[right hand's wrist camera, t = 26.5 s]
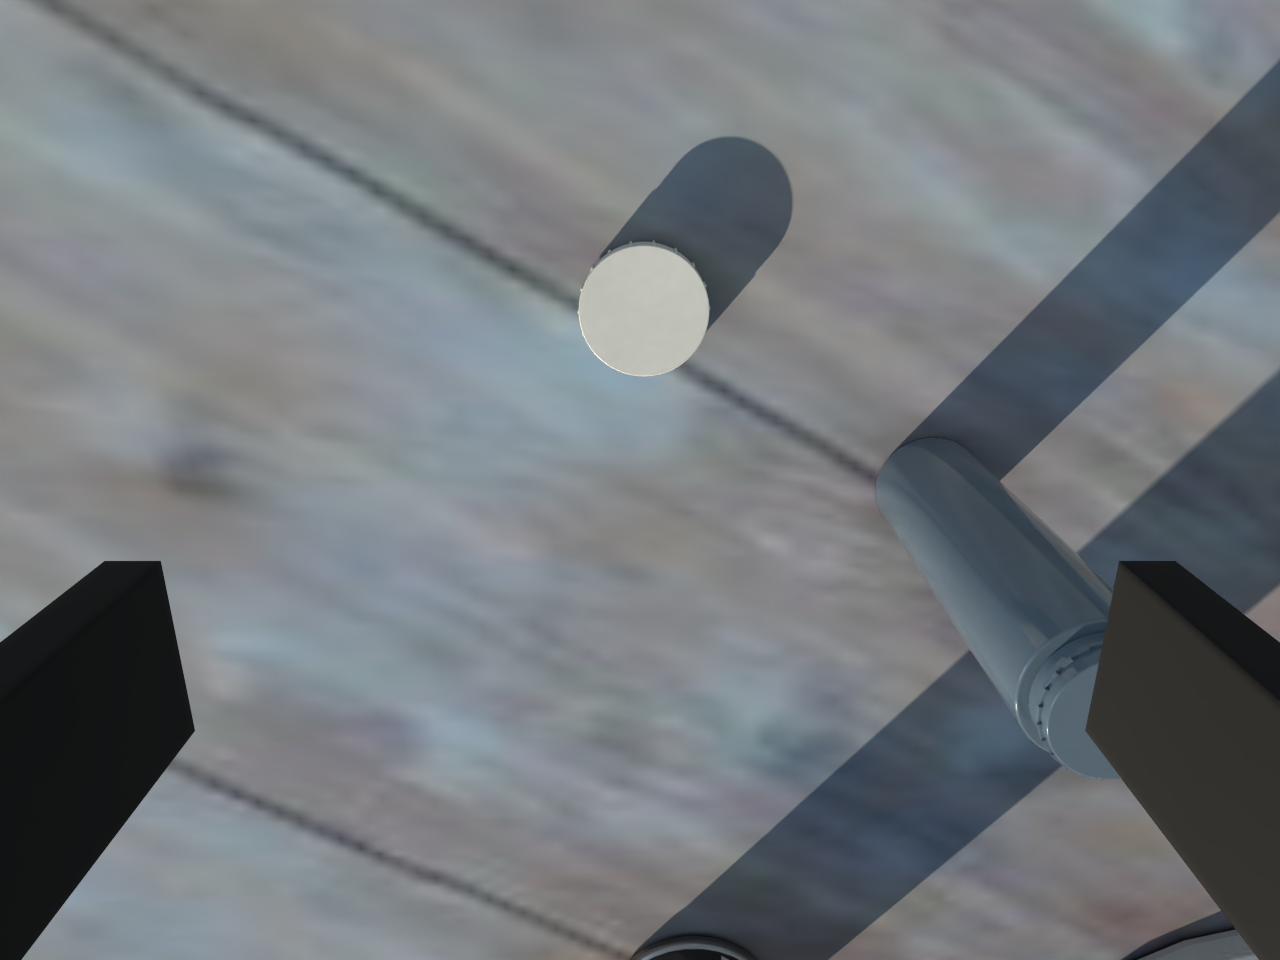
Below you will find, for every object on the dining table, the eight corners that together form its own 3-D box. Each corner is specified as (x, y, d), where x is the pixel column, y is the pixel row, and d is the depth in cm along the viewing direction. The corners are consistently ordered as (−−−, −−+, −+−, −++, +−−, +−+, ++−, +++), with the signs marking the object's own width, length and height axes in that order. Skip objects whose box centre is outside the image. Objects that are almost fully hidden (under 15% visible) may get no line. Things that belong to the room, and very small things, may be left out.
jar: (863, 456, 43) (1018, 672, 26) (967, 423, 43) (1199, 621, 25) (888, 546, 45) (1050, 809, 27) (988, 516, 44) (1220, 763, 27)
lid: (734, 310, 41) (738, 317, 39) (638, 394, 42) (638, 403, 41) (650, 211, 39) (650, 214, 38) (552, 301, 41) (549, 307, 39)
